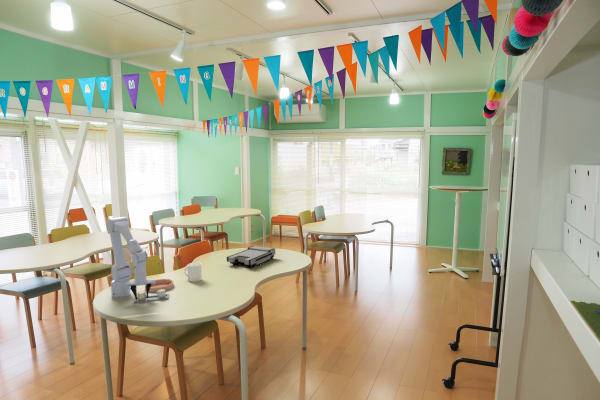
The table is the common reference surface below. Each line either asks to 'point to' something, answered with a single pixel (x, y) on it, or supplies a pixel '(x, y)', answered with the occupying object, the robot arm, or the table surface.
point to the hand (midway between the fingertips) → (141, 298)
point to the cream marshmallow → (141, 296)
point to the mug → (193, 272)
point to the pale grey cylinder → (161, 293)
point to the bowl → (161, 285)
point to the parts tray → (152, 298)
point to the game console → (252, 256)
